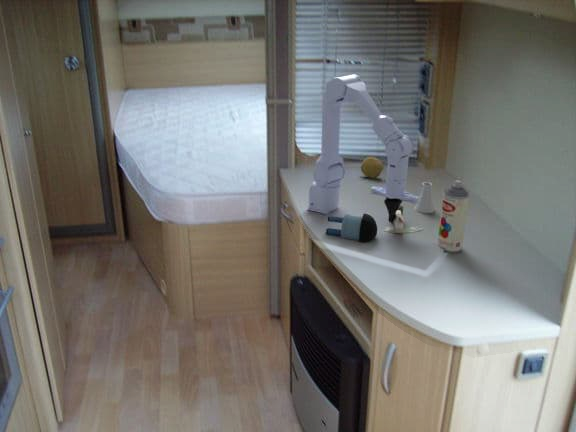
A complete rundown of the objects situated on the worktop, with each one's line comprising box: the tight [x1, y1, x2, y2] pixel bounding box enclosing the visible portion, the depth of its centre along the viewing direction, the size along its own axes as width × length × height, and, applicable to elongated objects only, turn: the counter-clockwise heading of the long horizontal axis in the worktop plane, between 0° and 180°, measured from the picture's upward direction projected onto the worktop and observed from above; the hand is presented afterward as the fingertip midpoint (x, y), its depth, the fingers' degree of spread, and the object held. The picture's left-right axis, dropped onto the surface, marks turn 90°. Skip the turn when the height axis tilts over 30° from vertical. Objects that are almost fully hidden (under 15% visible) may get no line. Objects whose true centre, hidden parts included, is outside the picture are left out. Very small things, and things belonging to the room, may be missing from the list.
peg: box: [392, 204, 405, 234], centre depth 179 cm, size 14×4×5 cm, turn 176°
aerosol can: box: [437, 179, 470, 255], centre depth 165 cm, size 7×7×20 cm
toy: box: [325, 213, 378, 243], centre depth 172 cm, size 8×9×15 cm
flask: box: [413, 181, 435, 214], centre depth 192 cm, size 7×7×10 cm
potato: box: [360, 156, 384, 179], centre depth 225 cm, size 7×8×8 cm
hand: (391, 221), depth 178 cm, fingers closed, pressing on peg
